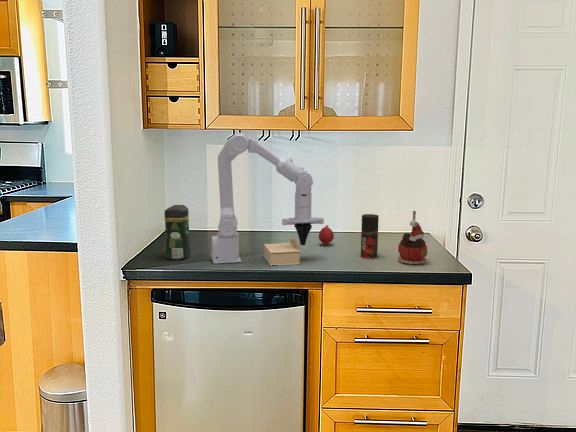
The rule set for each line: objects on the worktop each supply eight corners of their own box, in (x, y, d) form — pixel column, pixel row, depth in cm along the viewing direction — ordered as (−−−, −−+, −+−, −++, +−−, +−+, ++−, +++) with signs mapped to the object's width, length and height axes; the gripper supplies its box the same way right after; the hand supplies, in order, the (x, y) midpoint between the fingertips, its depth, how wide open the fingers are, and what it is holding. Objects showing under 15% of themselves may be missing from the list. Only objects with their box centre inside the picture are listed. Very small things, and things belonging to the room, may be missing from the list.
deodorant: (379, 255, 200) (381, 215, 197) (373, 259, 195) (374, 217, 192) (364, 253, 203) (365, 213, 200) (357, 257, 198) (359, 216, 195)
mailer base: (270, 265, 186) (270, 254, 185) (264, 256, 197) (264, 246, 196) (299, 264, 188) (299, 252, 187) (291, 255, 199) (291, 244, 199)
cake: (409, 256, 199) (411, 207, 195) (432, 262, 192) (434, 211, 189) (391, 262, 192) (393, 211, 188) (414, 267, 185) (417, 214, 182)
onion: (321, 247, 212) (321, 226, 211) (316, 243, 218) (316, 223, 216) (335, 246, 214) (336, 226, 212) (330, 243, 219) (330, 223, 218)
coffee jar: (170, 253, 201) (168, 203, 198) (191, 253, 201) (190, 203, 198) (163, 260, 192) (161, 207, 188) (186, 260, 191) (184, 208, 188)
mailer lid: (270, 253, 185) (270, 246, 184) (263, 245, 196) (263, 238, 196) (300, 252, 187) (300, 245, 187) (291, 243, 199) (291, 237, 198)
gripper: (285, 208, 185) (284, 248, 188) (326, 207, 189) (325, 246, 191) (280, 205, 192) (280, 243, 195) (320, 204, 195) (320, 241, 198)
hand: (302, 244), depth 193 cm, fingers closed
